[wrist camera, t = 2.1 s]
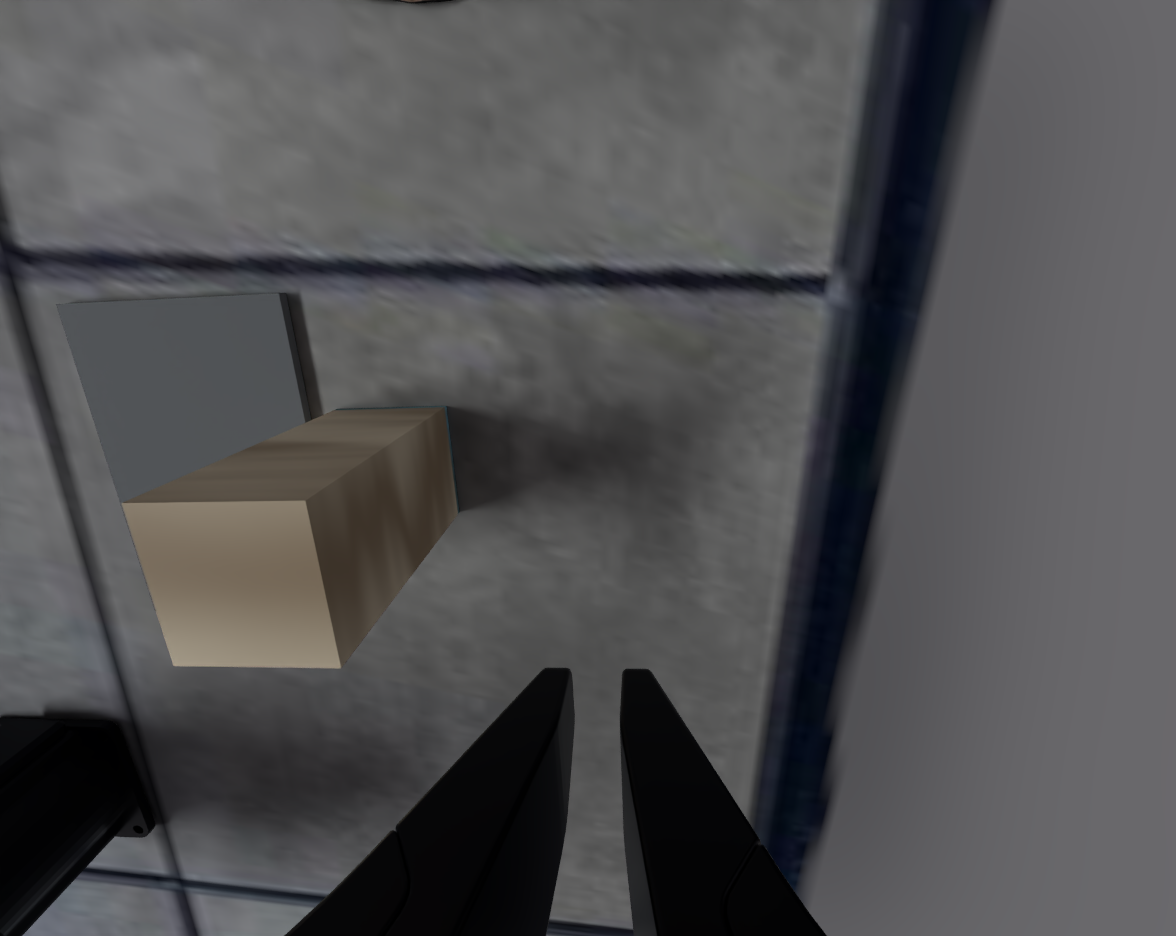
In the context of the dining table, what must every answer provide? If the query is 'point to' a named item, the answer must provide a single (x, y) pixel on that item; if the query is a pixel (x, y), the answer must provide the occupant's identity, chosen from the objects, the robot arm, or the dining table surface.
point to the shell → (421, 1)
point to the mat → (184, 381)
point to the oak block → (296, 538)
